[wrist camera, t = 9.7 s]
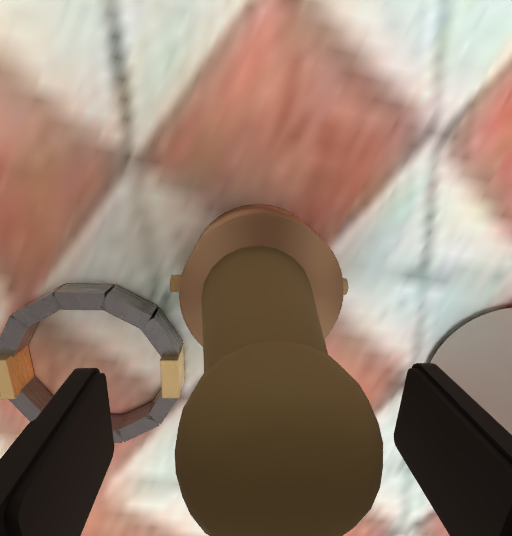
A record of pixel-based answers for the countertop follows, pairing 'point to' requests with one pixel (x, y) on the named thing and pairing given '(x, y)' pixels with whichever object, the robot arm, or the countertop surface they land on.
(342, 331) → the countertop surface
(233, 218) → the pot
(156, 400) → the collar
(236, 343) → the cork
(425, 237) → the countertop surface
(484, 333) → the cylinder vase
